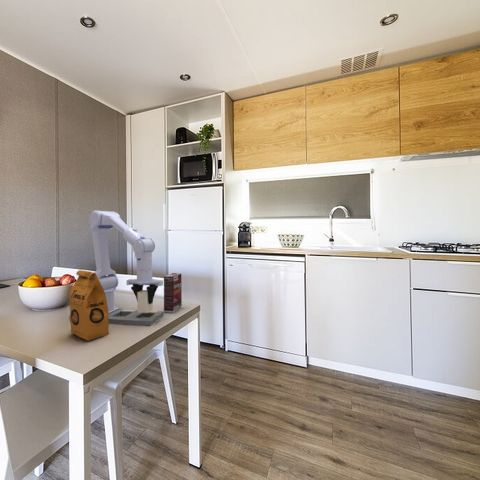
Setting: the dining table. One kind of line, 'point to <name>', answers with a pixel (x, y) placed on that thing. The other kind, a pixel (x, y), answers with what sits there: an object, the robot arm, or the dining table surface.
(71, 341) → the dining table surface
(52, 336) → the dining table surface
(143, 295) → the plug block
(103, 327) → the coffee package
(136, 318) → the jack panel
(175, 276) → the supplement box
